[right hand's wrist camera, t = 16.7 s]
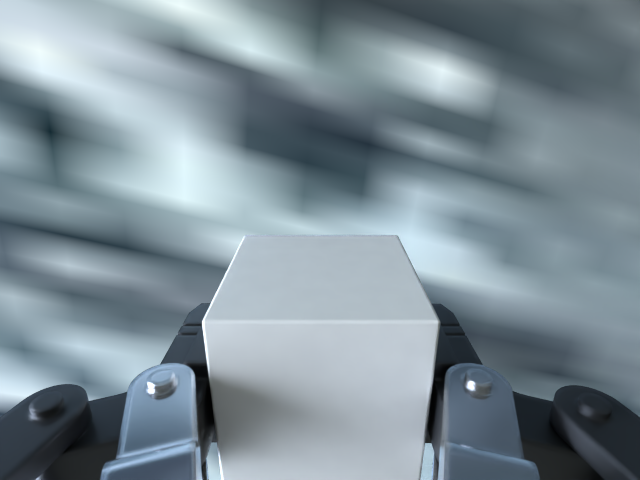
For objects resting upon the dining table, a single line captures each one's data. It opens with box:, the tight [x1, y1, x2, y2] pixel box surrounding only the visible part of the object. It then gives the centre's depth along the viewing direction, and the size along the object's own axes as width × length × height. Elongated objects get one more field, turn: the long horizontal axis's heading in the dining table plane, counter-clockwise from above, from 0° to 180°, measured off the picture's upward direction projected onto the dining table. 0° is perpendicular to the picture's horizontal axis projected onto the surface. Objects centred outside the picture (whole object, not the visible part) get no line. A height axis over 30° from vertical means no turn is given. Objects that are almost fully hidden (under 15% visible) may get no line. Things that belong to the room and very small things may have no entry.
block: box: [202, 235, 440, 480], centre depth 11 cm, size 4×5×5 cm
